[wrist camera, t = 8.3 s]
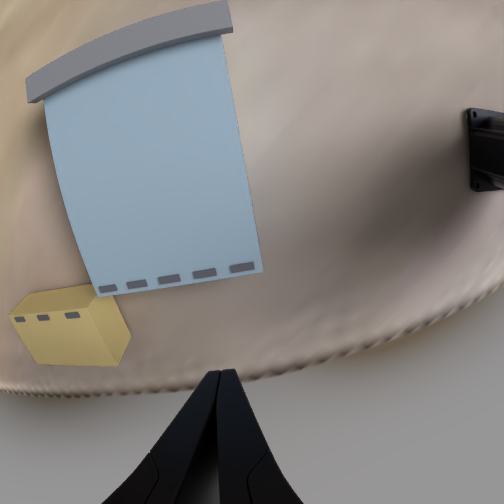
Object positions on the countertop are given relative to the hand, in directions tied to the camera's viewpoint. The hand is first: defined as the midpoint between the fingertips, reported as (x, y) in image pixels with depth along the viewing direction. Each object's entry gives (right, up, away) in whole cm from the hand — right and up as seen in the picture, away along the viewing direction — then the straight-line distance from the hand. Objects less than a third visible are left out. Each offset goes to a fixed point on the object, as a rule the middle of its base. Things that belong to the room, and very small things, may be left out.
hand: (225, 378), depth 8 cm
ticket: (-5, +10, +8) cm, 13 cm away
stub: (-14, -1, +12) cm, 18 cm away
